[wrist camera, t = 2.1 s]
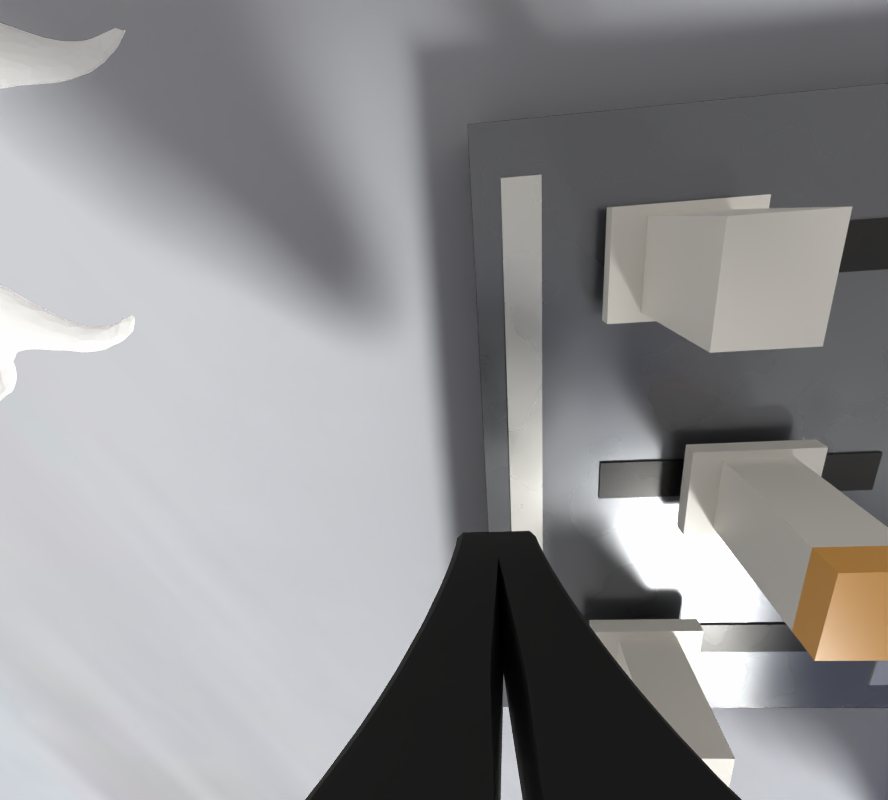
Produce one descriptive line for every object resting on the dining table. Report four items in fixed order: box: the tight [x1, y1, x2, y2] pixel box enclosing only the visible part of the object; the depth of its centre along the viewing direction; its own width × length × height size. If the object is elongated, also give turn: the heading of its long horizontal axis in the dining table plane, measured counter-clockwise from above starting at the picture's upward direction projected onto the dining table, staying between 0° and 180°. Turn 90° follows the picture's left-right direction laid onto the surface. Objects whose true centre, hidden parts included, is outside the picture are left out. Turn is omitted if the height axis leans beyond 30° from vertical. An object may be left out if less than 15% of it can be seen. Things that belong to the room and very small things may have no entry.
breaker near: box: [602, 194, 853, 353], centre depth 8 cm, size 3×2×3 cm
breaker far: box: [589, 619, 735, 787], centre depth 12 cm, size 3×2×3 cm
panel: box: [468, 83, 888, 708], centre depth 12 cm, size 12×16×2 cm
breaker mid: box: [677, 439, 888, 661], centre depth 9 cm, size 3×2×4 cm
